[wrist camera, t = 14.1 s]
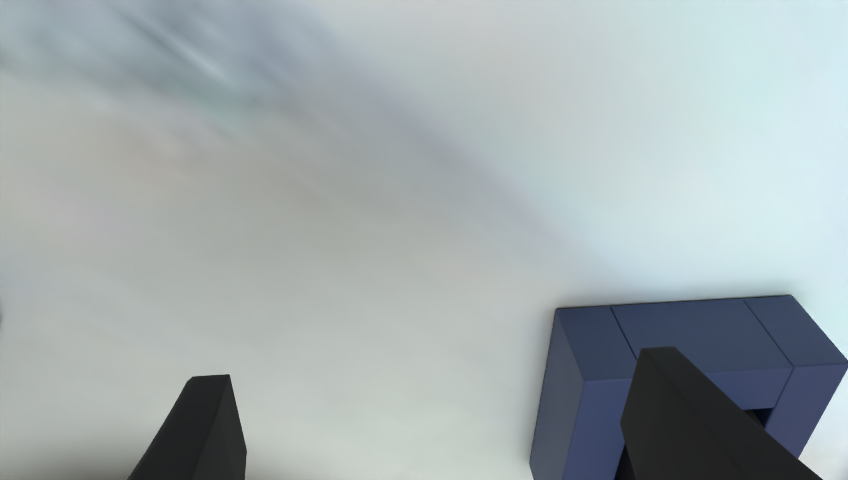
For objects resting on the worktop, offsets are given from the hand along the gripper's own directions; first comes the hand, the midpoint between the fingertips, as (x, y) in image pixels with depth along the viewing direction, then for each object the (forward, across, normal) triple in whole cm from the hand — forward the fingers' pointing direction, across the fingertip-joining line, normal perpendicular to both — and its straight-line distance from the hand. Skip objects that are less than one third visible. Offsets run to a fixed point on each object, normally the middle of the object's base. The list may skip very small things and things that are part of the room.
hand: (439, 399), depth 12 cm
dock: (+9, -10, +11) cm, 18 cm away
